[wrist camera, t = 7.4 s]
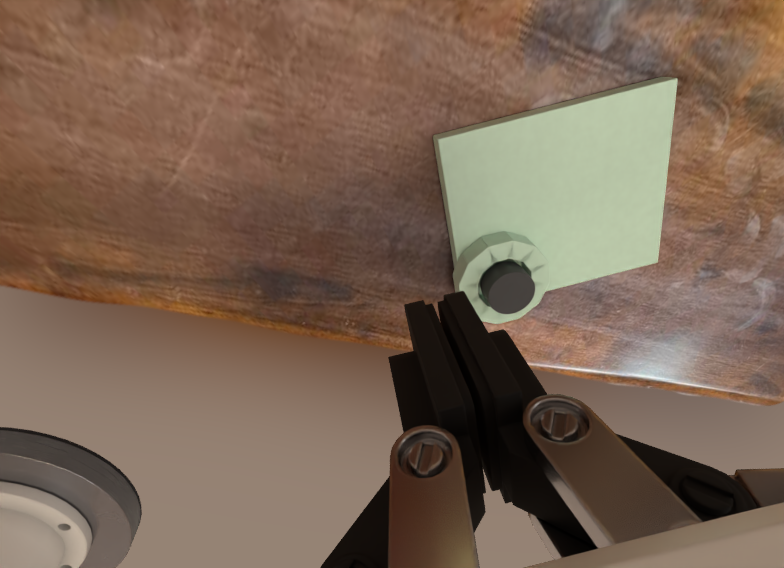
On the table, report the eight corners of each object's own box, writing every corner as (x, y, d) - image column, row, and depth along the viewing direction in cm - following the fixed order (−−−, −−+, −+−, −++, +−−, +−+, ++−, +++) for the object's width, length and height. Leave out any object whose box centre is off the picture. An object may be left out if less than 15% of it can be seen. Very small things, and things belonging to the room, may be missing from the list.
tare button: (482, 306, 28) (490, 319, 27) (477, 267, 27) (485, 279, 25) (526, 295, 28) (536, 307, 27) (523, 255, 27) (534, 266, 25)
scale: (454, 309, 31) (466, 332, 28) (424, 137, 25) (436, 146, 22) (644, 260, 31) (673, 278, 29) (661, 76, 25) (700, 79, 22)
